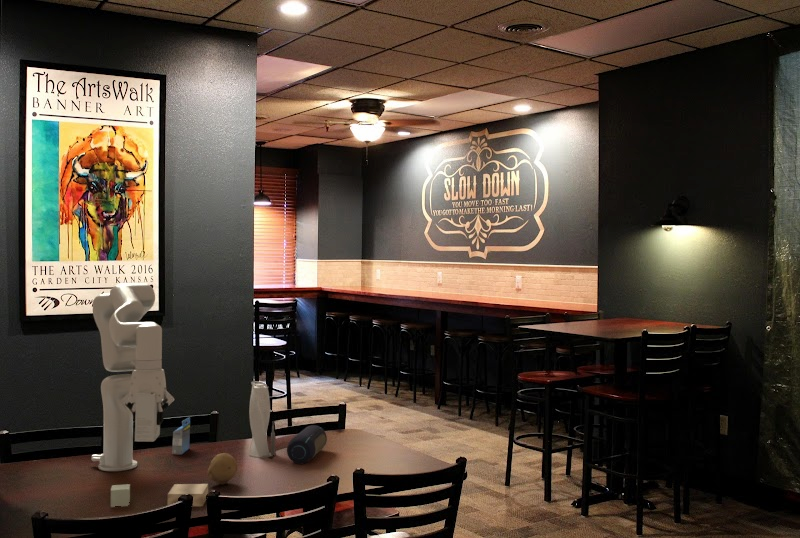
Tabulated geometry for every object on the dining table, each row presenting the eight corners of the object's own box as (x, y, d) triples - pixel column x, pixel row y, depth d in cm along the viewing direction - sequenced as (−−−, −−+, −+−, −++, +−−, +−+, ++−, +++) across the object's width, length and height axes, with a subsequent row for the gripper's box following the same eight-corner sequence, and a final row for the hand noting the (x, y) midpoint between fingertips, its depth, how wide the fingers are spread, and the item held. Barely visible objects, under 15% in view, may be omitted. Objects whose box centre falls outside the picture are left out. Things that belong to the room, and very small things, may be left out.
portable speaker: (311, 467, 273) (312, 438, 273) (284, 465, 275) (284, 437, 275) (329, 449, 298) (329, 423, 298) (303, 448, 300) (303, 422, 299)
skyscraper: (260, 460, 282) (261, 382, 282) (243, 457, 286) (244, 380, 286) (276, 455, 289) (277, 379, 289) (259, 452, 293) (260, 377, 293)
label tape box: (179, 448, 296) (179, 416, 296) (190, 448, 296) (190, 416, 296) (171, 454, 288) (172, 421, 287) (182, 454, 287) (183, 421, 287)
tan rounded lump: (243, 485, 250) (243, 453, 250) (218, 490, 244) (219, 458, 244) (227, 479, 257) (228, 448, 257) (203, 484, 251) (203, 453, 251)
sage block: (110, 507, 227) (110, 490, 227) (112, 502, 232) (112, 485, 232) (128, 506, 228) (129, 489, 228) (129, 500, 233) (130, 484, 233)
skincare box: (141, 435, 243) (141, 387, 243) (161, 435, 244) (161, 387, 243) (134, 442, 235) (134, 392, 235) (154, 442, 235) (155, 392, 235)
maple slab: (167, 507, 228) (167, 494, 228) (174, 497, 238) (174, 484, 238) (202, 507, 229) (202, 493, 229) (207, 496, 239) (208, 483, 239)
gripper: (115, 366, 235) (115, 426, 235) (173, 367, 235) (173, 427, 236) (124, 363, 243) (123, 421, 243) (180, 363, 243) (180, 421, 243)
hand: (148, 423), depth 239 cm, fingers closed on skincare box, 6 cm apart
